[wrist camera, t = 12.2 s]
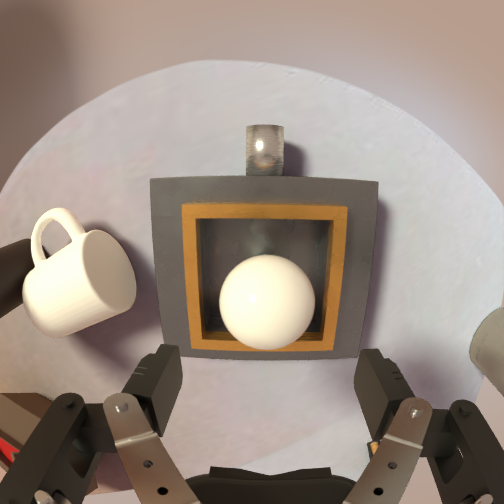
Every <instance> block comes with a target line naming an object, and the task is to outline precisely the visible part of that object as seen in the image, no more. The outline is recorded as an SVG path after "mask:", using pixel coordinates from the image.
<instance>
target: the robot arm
mask: <svg viewBox="0 0 504 504" xmlns="http://www.w3.org/2000/svg"><path fill="white" fill-rule="evenodd" d="M470 358H471V360H472V362H473V363H474V364H475V365H476V366H477V367H478V368H479V369H480V370H481V371H482V373H483V374H484V375H485V376H486V377H487V378H488V379H489V380H490V382H491V383H492V384H493V385H494V386H495V387H496V388H497V390H498V391H499V392H500V393H501V394H502V395H503V397H504V308H499V309H497V310H495V311H494V312H492V313H491V314H490V315H489V316H488V317H487V318H486V319H485V320H484V321H483V322H482V324H481V325H480V327H479V328H478V330H477V332H476V333H475V335H474V338H473V340H472V343H471V347H470ZM182 378H183V374H182V366H181V359H180V351H179V347H178V346H177V345H167V344H161V345H160V346H159V348H158V350H157V352H156V353H155V354H151V353H150V354H148V355H147V356H145V357H144V358H142V359H141V361H140V362H139V364H138V366H137V368H136V369H135V370H134V373H133V374H132V375H131V377H130V379H129V380H128V382H127V384H126V385H125V387H124V388H123V390H122V392H121V393H116V394H113V395H111V396H109V397H108V398H106V400H105V401H104V403H99V404H86V403H85V402H84V400H83V398H82V397H81V396H80V395H78V394H76V393H65V394H62V395H60V396H58V397H57V398H56V399H55V400H54V402H53V403H52V404H51V406H50V407H49V409H48V410H47V411H46V413H45V414H44V416H43V417H42V419H41V420H40V422H39V423H38V425H37V426H36V427H35V429H34V430H33V432H32V433H31V435H30V436H29V438H28V439H27V441H26V443H25V444H24V446H23V447H22V449H21V450H20V452H19V453H18V455H17V457H16V458H15V460H14V461H13V463H12V465H11V466H10V468H9V470H8V471H7V473H6V475H5V476H4V478H3V480H2V481H1V483H0V504H82V502H83V500H84V497H85V495H86V492H87V490H88V487H89V485H90V482H91V480H92V477H93V475H94V473H95V470H96V468H97V465H98V463H99V461H100V458H101V456H102V454H103V452H118V454H119V456H120V458H121V461H122V463H123V466H124V468H125V470H126V473H127V475H128V477H129V479H130V482H131V484H132V486H133V488H134V490H135V492H136V494H137V496H138V498H139V500H140V502H141V504H398V503H399V501H400V499H401V497H402V495H403V493H404V491H405V489H406V487H407V484H408V482H409V480H410V478H411V476H412V473H413V471H414V469H415V466H416V464H417V461H418V459H419V457H427V460H428V463H429V465H430V468H431V471H432V474H433V477H434V479H435V482H436V485H437V488H438V491H439V494H440V497H441V500H442V503H443V504H504V450H503V449H502V447H501V445H500V443H499V442H498V440H497V438H496V437H495V435H494V433H493V432H492V430H491V428H490V427H489V425H488V423H487V422H486V420H485V419H484V417H483V415H482V414H481V412H480V411H479V409H478V407H477V406H476V405H475V404H474V403H472V402H470V401H468V400H457V401H455V402H453V403H452V405H451V407H450V409H449V410H444V409H432V407H431V405H430V404H429V403H428V402H427V401H426V400H424V399H421V398H417V397H415V395H414V394H413V392H412V390H411V388H410V387H409V385H408V383H407V382H406V380H405V379H404V376H403V375H402V373H400V370H399V368H398V366H397V365H396V364H395V363H394V362H393V361H391V360H390V359H389V358H386V359H384V358H383V356H382V354H381V352H380V351H379V349H362V350H361V351H360V354H359V359H358V363H357V367H356V372H355V376H354V389H355V392H356V395H357V397H358V400H359V403H360V406H361V409H362V412H363V414H364V417H365V420H366V423H367V426H368V429H369V432H370V435H371V438H372V441H375V440H381V439H382V441H381V443H380V444H379V446H378V448H377V450H376V452H375V453H374V455H373V457H372V458H371V460H370V462H369V463H368V465H367V467H366V468H365V470H364V472H363V473H362V475H361V476H360V478H359V480H358V481H357V482H355V481H353V480H351V479H348V478H345V477H342V476H337V475H331V469H330V467H326V468H313V469H300V470H296V471H291V472H287V473H282V474H278V475H265V474H260V473H256V472H251V471H247V470H243V469H236V468H223V467H212V466H211V467H210V472H209V474H203V475H198V476H194V477H191V478H188V479H186V480H184V478H183V477H182V475H181V473H180V472H179V470H178V469H177V467H176V466H175V464H174V462H173V461H172V459H171V457H170V456H169V454H168V452H167V451H166V449H165V447H164V446H163V444H162V442H161V440H160V438H159V437H162V436H163V434H164V431H165V428H166V426H167V423H168V420H169V417H170V415H171V412H172V409H173V407H174V404H175V401H176V399H177V396H178V393H179V391H180V388H181V385H182ZM458 448H459V449H460V451H461V453H462V455H463V457H462V455H461V453H460V451H459V449H458Z"/></svg>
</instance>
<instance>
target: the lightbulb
mask: <svg viewBox="0 0 504 504" xmlns="http://www.w3.org/2000/svg"><path fill="white" fill-rule="evenodd" d="M219 308H220V313H221V317H222V320H223V322H224V324H225V326H226V328H227V329H228V331H229V332H230V333H231V334H232V335H233V336H234V337H235V338H236V339H237V340H238V341H240V342H241V343H243V344H245V345H247V346H249V347H252V348H255V349H260V350H273V349H279V348H282V347H285V346H287V345H289V344H291V343H293V342H294V341H296V340H297V339H298V338H299V337H300V336H301V335H302V334H303V333H304V332H305V331H306V329H307V328H308V326H309V324H310V322H311V320H312V317H313V314H314V309H315V295H314V290H313V287H312V284H311V282H310V280H309V278H308V276H307V275H306V274H305V272H304V271H303V270H302V269H301V268H300V267H299V266H298V265H297V264H295V263H294V262H292V261H290V260H288V259H286V258H284V257H281V256H277V255H267V254H264V255H258V256H254V257H251V258H248V259H246V260H244V261H242V262H241V263H239V264H238V265H237V266H236V267H234V268H233V269H232V271H231V272H230V273H229V274H228V276H227V277H226V279H225V281H224V283H223V285H222V288H221V291H220V297H219Z"/></svg>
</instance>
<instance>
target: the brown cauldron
mask: <svg viewBox="0 0 504 504" xmlns="http://www.w3.org/2000/svg"><path fill="white" fill-rule="evenodd" d="M52 403H53V402H52V401H50V400H49V399H47V398H45V397H43V396H41V395H40V394H38V393H0V466H1V467H2V468H3V469H4V470H5V471H6V472H7V471H8V470H9V468H10V466H11V465H12V463H13V461H14V460H15V458H16V457H17V455H18V453H19V452H20V450H21V449H22V447H23V446H24V444H25V443H26V441H27V439H28V438H29V436H30V435H31V433H32V432H33V430H34V429H35V427H36V426H37V425H38V423H39V422H40V420H41V419H42V417H43V416H44V414H45V413H46V411H47V410H48V409H49V407H50V406H51V404H52ZM97 488H98V486H97V482H96V479H95V475H93V477H92V480H91V482H90V485H89V487H88V490H87V492H86V495H88V494H89V493H91V492H92V491H94V490H95V489H97ZM86 495H85V496H86Z"/></svg>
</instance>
